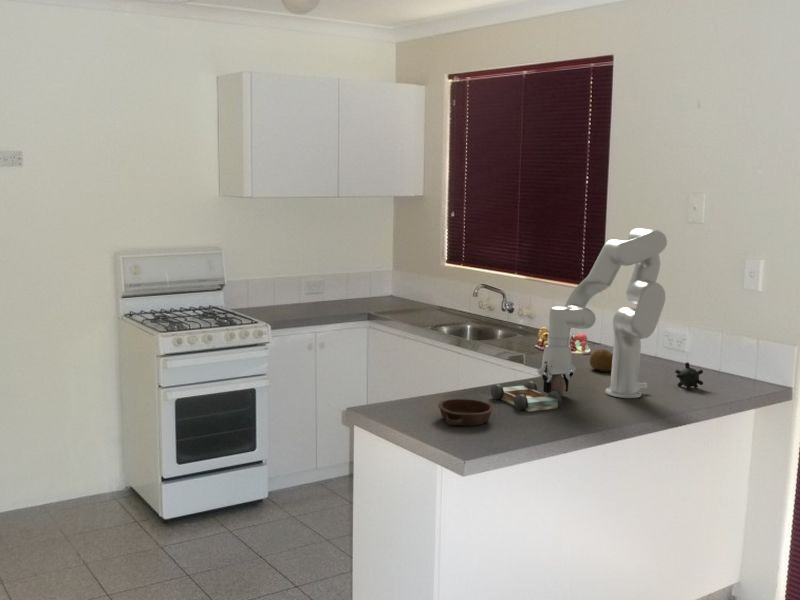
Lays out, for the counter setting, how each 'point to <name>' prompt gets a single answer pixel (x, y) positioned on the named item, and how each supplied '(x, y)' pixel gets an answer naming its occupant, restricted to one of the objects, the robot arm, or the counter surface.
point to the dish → (465, 411)
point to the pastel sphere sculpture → (576, 344)
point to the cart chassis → (527, 397)
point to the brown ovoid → (558, 384)
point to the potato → (601, 360)
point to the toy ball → (689, 377)
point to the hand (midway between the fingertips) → (555, 391)
